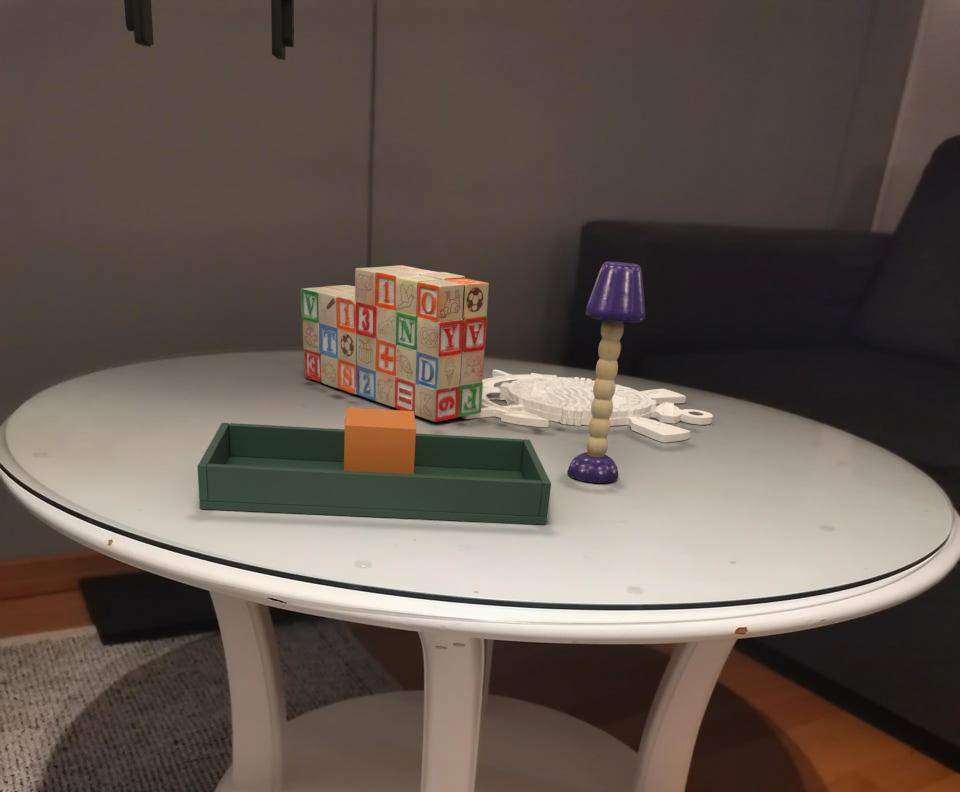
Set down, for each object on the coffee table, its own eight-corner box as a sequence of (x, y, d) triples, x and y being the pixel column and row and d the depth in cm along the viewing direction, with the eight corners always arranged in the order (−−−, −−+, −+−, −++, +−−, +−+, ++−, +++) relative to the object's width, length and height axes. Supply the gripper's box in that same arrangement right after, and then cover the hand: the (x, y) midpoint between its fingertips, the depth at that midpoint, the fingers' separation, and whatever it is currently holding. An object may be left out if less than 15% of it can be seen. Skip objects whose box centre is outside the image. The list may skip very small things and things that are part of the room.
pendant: (465, 372, 114) (466, 360, 113) (706, 399, 111) (709, 387, 110) (427, 414, 95) (428, 400, 94) (717, 449, 92) (720, 434, 91)
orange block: (412, 496, 71) (416, 428, 69) (343, 493, 70) (344, 424, 68) (410, 475, 75) (414, 411, 73) (345, 471, 75) (347, 407, 73)
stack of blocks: (302, 378, 104) (298, 256, 99) (349, 372, 108) (347, 254, 103) (436, 422, 91) (440, 283, 85) (483, 413, 95) (490, 279, 89)
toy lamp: (557, 466, 83) (582, 257, 75) (606, 465, 84) (636, 260, 77) (579, 484, 79) (608, 265, 71) (631, 483, 80) (664, 268, 73)
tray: (199, 509, 67) (197, 465, 65) (223, 461, 77) (221, 422, 75) (546, 524, 70) (551, 483, 68) (526, 476, 79) (530, 439, 78)
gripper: (44, -294, 59) (75, 34, 67) (331, -255, 61) (329, 60, 69) (78, -251, 66) (102, 44, 74) (336, -217, 68) (333, 66, 76)
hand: (212, 51), depth 71 cm, fingers open, 9 cm apart
